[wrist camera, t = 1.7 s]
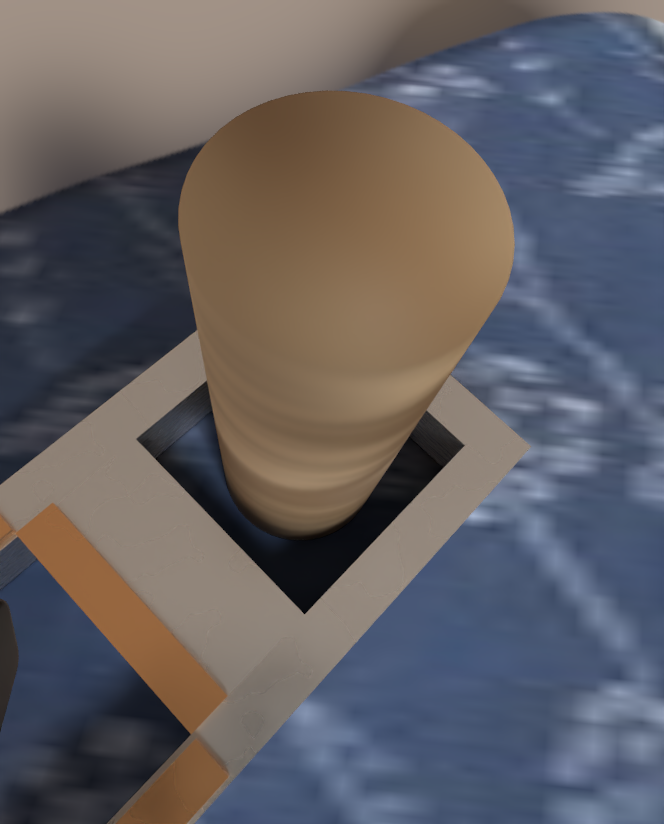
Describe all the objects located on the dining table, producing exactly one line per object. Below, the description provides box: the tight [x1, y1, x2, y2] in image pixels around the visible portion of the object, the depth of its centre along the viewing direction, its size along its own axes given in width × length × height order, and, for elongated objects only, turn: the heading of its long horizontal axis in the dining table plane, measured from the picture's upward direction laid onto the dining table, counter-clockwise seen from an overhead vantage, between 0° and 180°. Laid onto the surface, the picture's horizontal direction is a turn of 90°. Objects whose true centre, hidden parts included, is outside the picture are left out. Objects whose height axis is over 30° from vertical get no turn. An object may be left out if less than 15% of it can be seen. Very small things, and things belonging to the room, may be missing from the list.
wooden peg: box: [178, 91, 515, 540], centre depth 15 cm, size 5×5×13 cm
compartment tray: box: [0, 331, 531, 824], centre depth 18 cm, size 21×10×3 cm, turn 136°
